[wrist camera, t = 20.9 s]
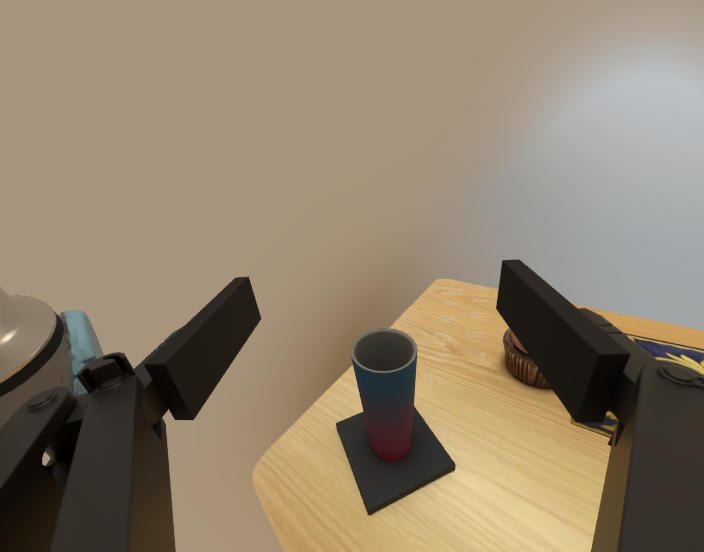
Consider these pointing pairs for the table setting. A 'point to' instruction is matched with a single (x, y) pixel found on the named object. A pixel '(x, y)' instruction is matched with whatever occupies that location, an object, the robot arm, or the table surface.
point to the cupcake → (522, 362)
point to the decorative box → (661, 351)
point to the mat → (392, 477)
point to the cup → (386, 389)
